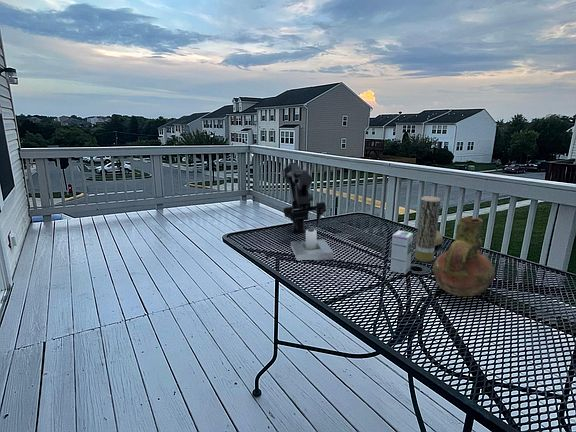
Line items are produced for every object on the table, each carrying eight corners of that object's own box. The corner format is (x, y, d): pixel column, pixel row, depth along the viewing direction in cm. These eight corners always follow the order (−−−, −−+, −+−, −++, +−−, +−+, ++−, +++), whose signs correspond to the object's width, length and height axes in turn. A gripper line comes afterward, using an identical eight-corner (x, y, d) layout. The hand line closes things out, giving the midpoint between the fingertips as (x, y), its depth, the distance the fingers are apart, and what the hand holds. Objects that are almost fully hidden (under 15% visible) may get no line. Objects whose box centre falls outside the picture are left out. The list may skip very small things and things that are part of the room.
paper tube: (429, 255, 132) (437, 196, 125) (435, 262, 125) (443, 200, 118) (412, 255, 133) (418, 196, 125) (417, 262, 126) (424, 200, 119)
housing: (290, 247, 142) (290, 241, 141) (323, 245, 144) (324, 239, 143) (296, 261, 128) (296, 254, 127) (333, 259, 130) (333, 252, 129)
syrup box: (405, 275, 116) (409, 237, 112) (389, 270, 119) (392, 233, 115) (410, 269, 120) (414, 232, 116) (394, 265, 124) (398, 229, 120)
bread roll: (408, 247, 141) (410, 230, 139) (425, 239, 150) (427, 223, 148) (430, 254, 134) (432, 236, 132) (446, 245, 143) (448, 227, 141)
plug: (306, 250, 139) (306, 226, 136) (317, 251, 138) (317, 227, 135) (304, 254, 135) (304, 229, 132) (315, 255, 134) (315, 230, 130)
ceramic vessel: (496, 282, 110) (510, 212, 103) (482, 318, 90) (497, 233, 83) (443, 269, 120) (451, 204, 113) (420, 298, 101) (428, 221, 94)
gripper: (280, 191, 141) (283, 224, 135) (322, 184, 139) (328, 218, 133) (283, 201, 151) (287, 232, 145) (323, 195, 149) (328, 227, 144)
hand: (307, 227), depth 142 cm, fingers open, 9 cm apart
